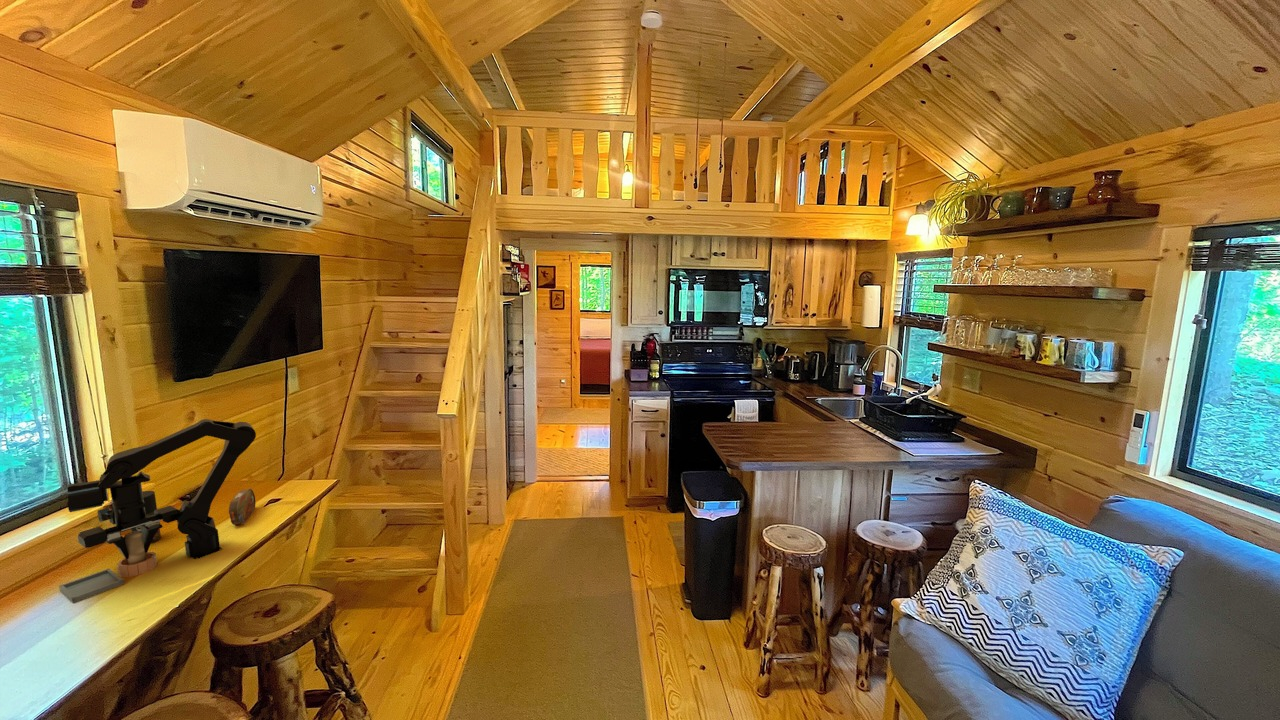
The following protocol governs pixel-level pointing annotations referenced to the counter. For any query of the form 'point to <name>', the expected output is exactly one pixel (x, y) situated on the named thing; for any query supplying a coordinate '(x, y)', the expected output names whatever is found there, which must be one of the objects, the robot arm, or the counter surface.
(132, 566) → the terracotta faceted bowl
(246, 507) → the tin
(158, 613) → the counter surface
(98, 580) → the tray
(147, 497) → the deodorant
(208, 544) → the robot arm
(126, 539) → the pin
